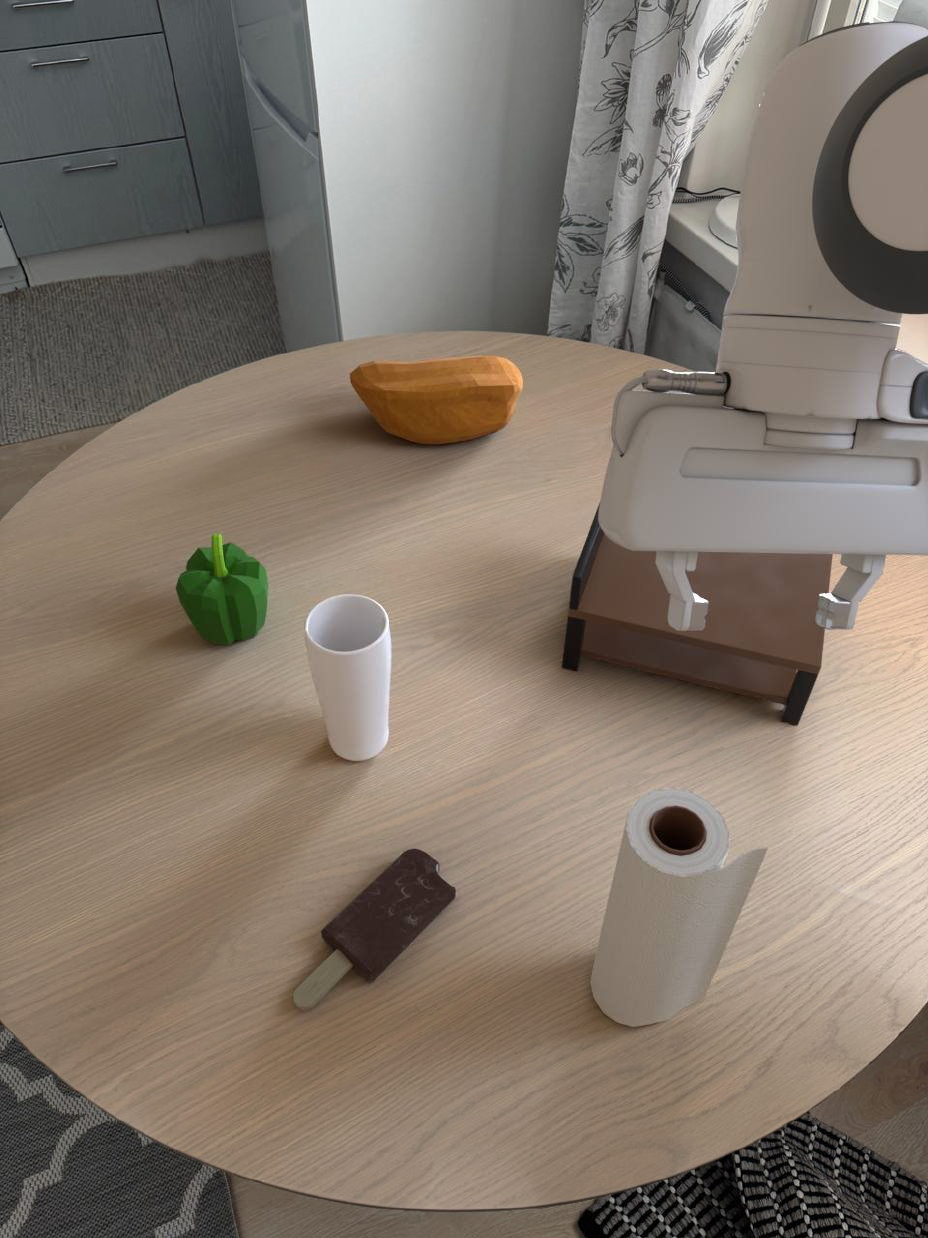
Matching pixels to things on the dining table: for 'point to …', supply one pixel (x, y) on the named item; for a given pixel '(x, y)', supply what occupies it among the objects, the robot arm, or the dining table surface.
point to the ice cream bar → (379, 923)
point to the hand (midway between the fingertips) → (760, 627)
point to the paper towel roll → (668, 908)
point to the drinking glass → (351, 672)
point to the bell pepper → (224, 592)
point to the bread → (440, 396)
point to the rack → (735, 621)
